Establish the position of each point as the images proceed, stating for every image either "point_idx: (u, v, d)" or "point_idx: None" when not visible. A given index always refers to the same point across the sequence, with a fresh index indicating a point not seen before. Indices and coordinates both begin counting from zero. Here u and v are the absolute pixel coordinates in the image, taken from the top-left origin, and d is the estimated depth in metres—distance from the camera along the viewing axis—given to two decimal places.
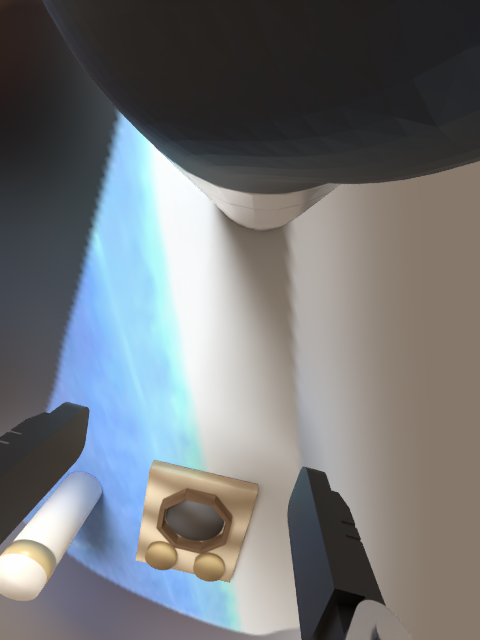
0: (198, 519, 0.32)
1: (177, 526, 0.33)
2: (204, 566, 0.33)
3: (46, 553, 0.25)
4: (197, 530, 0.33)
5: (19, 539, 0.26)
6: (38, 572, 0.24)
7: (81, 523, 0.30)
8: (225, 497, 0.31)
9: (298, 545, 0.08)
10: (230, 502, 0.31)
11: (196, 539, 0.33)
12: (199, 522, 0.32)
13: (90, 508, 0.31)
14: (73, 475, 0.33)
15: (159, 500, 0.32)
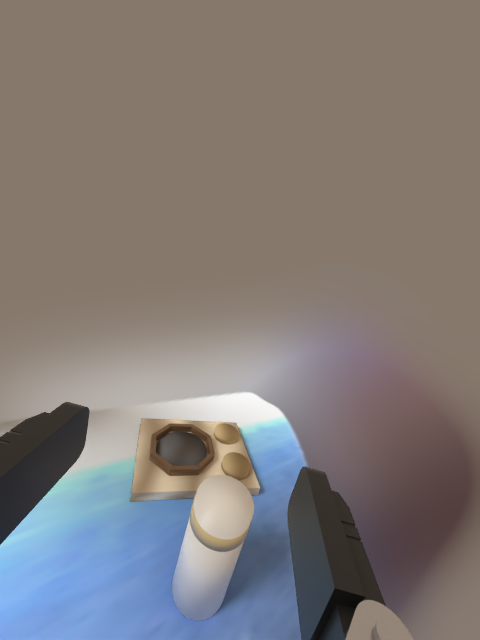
0: (181, 446, 0.38)
1: (196, 459, 0.36)
2: (224, 434, 0.42)
3: None
4: (193, 445, 0.38)
5: (196, 537, 0.20)
6: None
7: None
8: (151, 434, 0.39)
9: (298, 545, 0.08)
10: (155, 431, 0.39)
11: (205, 445, 0.39)
12: (184, 445, 0.38)
13: None
14: (175, 597, 0.22)
15: (172, 478, 0.32)
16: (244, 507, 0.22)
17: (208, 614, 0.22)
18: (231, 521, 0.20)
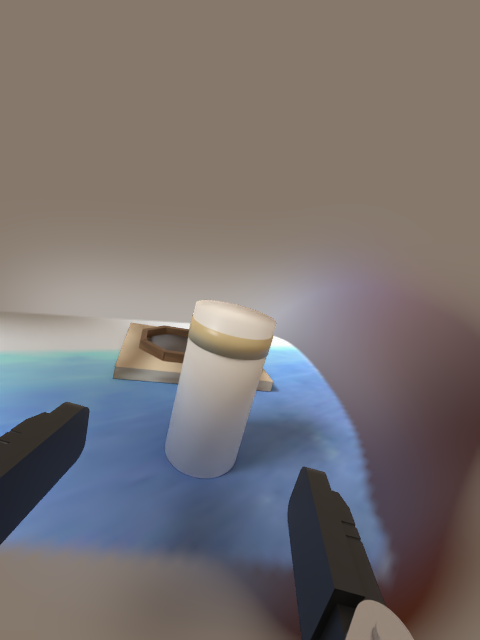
0: (177, 344, 0.32)
1: None
2: None
3: None
4: None
5: (197, 346, 0.14)
6: None
7: None
8: None
9: (298, 545, 0.08)
10: None
11: None
12: (181, 343, 0.32)
13: None
14: (169, 452, 0.16)
15: (166, 363, 0.26)
16: (263, 319, 0.16)
17: (215, 470, 0.16)
18: (246, 320, 0.14)
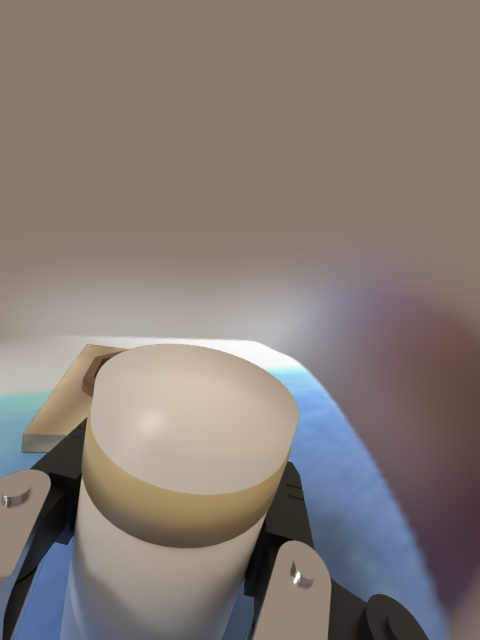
0: None
1: None
2: None
3: None
4: None
5: (89, 494, 0.05)
6: None
7: None
8: None
9: None
10: None
11: None
12: None
13: None
14: None
15: None
16: (267, 402, 0.07)
17: None
18: (223, 429, 0.05)
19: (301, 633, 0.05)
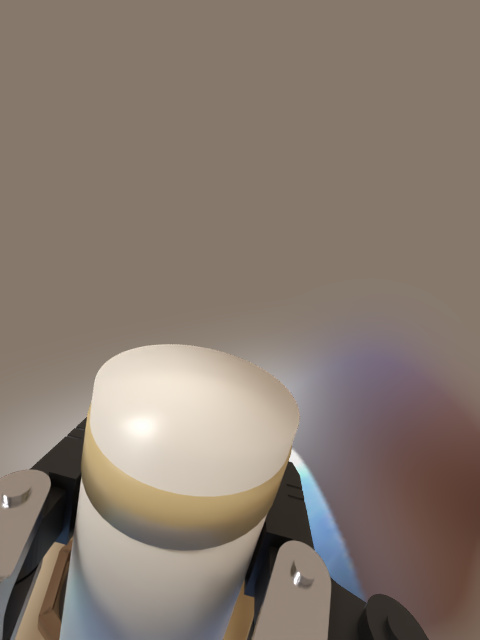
0: None
1: None
2: None
3: None
4: None
5: (88, 496, 0.05)
6: None
7: None
8: None
9: None
10: None
11: None
12: None
13: None
14: None
15: None
16: (267, 403, 0.07)
17: None
18: (223, 430, 0.05)
19: (301, 633, 0.05)
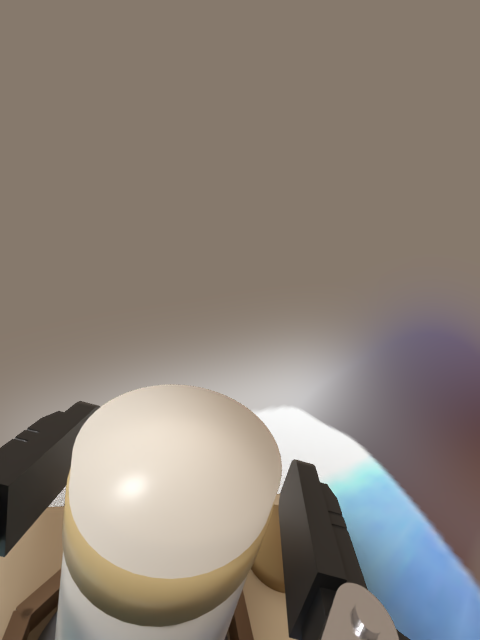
0: None
1: None
2: (276, 551, 0.14)
3: None
4: None
5: (69, 566, 0.05)
6: None
7: None
8: (29, 588, 0.11)
9: (287, 534, 0.08)
10: (53, 565, 0.12)
11: None
12: None
13: None
14: None
15: None
16: (250, 459, 0.07)
17: None
18: (200, 503, 0.05)
19: None
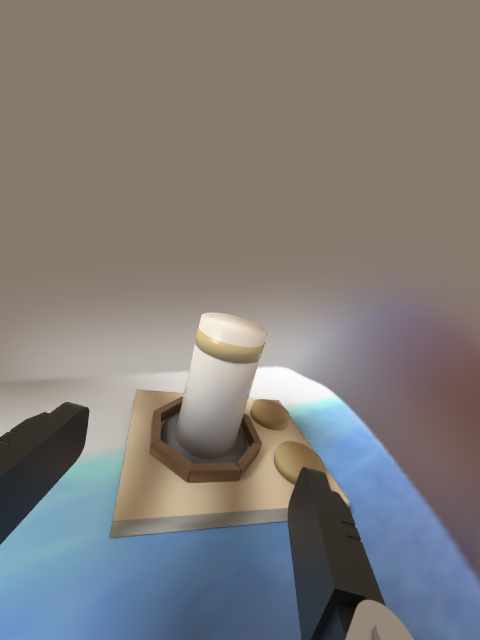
0: None
1: (231, 452, 0.21)
2: (268, 413, 0.26)
3: None
4: None
5: (203, 352, 0.18)
6: None
7: None
8: (152, 412, 0.23)
9: (298, 545, 0.08)
10: (159, 408, 0.24)
11: (241, 430, 0.24)
12: None
13: None
14: (179, 438, 0.20)
15: (193, 488, 0.17)
16: (256, 329, 0.19)
17: (217, 452, 0.19)
18: (243, 331, 0.18)
19: None
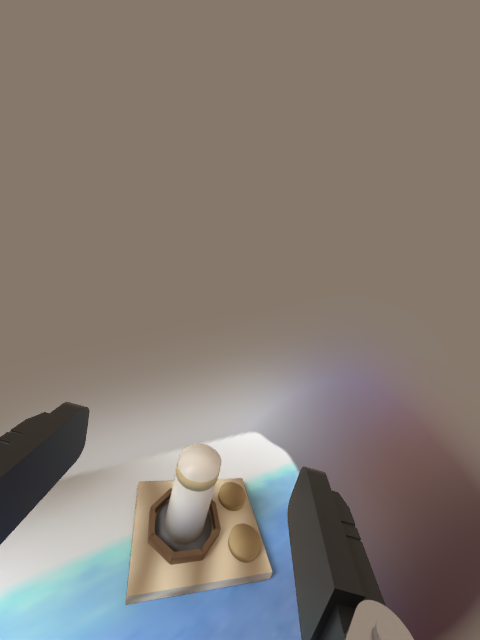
0: None
1: (200, 536, 0.32)
2: (230, 497, 0.38)
3: None
4: None
5: (180, 483, 0.30)
6: None
7: None
8: (150, 504, 0.35)
9: (298, 545, 0.08)
10: (154, 498, 0.36)
11: (209, 514, 0.35)
12: None
13: None
14: (167, 530, 0.32)
15: (173, 568, 0.29)
16: (214, 463, 0.31)
17: (190, 539, 0.31)
18: (204, 471, 0.29)
19: None
